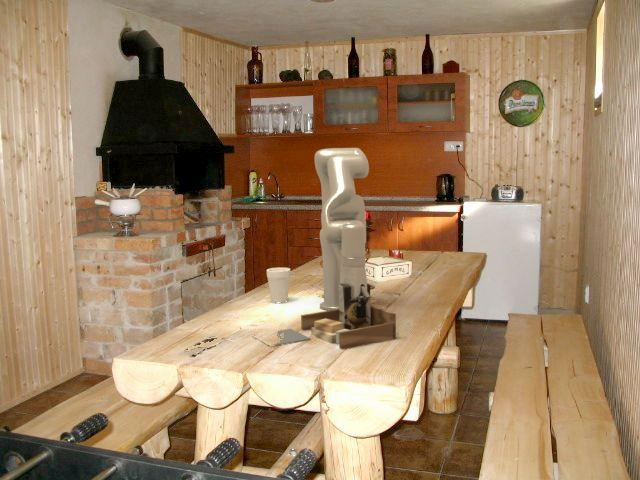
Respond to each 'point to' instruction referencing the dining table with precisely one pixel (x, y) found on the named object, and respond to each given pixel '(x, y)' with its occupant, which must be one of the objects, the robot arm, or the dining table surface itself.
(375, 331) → the rack
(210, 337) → the driftwood
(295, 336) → the mat
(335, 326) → the offcut short
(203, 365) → the dining table surface
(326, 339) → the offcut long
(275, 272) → the foam cup
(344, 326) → the coffee box
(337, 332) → the offcut cube
